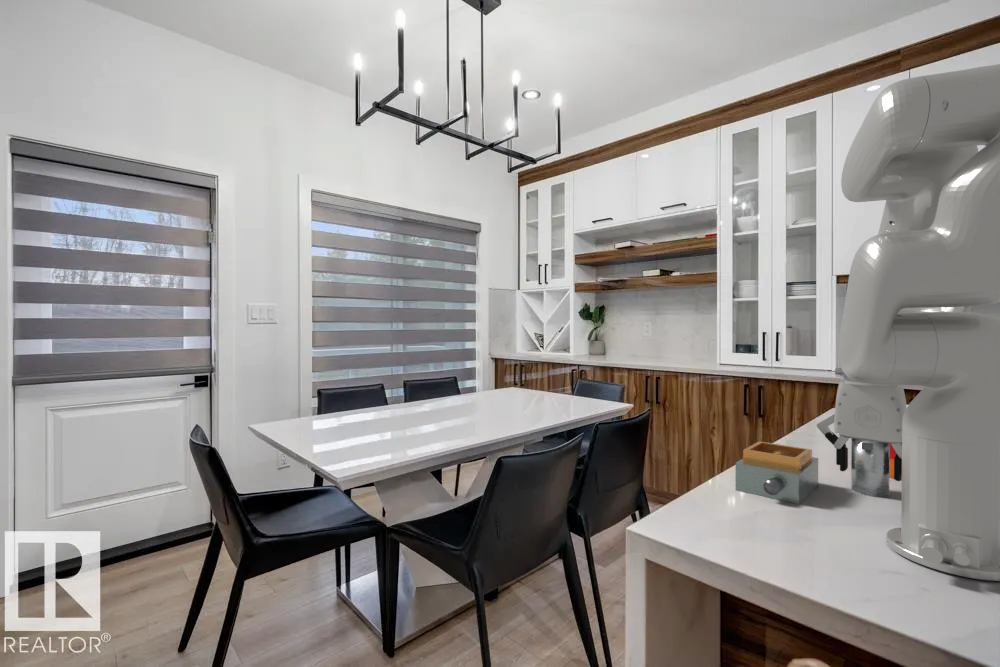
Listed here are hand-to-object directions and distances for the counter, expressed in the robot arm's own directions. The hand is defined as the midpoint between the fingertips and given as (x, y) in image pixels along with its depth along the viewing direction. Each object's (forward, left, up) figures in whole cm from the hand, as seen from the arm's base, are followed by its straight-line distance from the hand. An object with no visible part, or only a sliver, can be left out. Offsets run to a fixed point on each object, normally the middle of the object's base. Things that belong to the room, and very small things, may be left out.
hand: (870, 473), depth 85 cm
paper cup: (+15, -3, -3) cm, 16 cm away
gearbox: (-10, +13, -3) cm, 16 cm away
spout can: (0, 0, -3) cm, 3 cm away
